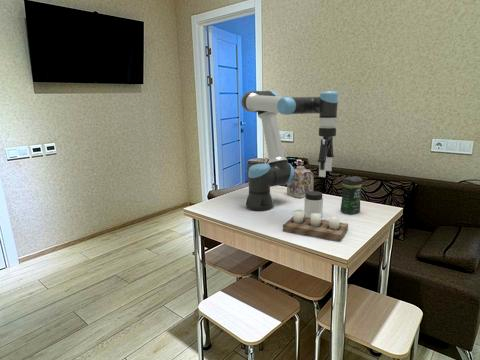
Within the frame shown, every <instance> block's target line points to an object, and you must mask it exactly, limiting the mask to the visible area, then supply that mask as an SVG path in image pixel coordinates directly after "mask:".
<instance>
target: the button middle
mask: <svg viewBox="0 0 480 360" xmlns="http://www.w3.org/2000/svg"><path fill="white" fill-rule="evenodd" d="M321 220H322V217H321V214H320V213H311V221H310V225H311V226H314V227H320V226H321Z"/></svg>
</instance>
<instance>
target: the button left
mask: <svg viewBox="0 0 480 360" xmlns="http://www.w3.org/2000/svg"><path fill="white" fill-rule="evenodd" d="M292 213H293V214H292V215H293V216H292V217H293V223H297V224H302V223H303V217H304V211H303V210H300V209H299V210H298V209H296V210H294V211H293V212H292Z"/></svg>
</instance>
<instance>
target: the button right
mask: <svg viewBox="0 0 480 360" xmlns="http://www.w3.org/2000/svg"><path fill="white" fill-rule="evenodd" d="M340 220H341V217H340V216H338V215H334V214H333V215H329V216H328V221H329V229H332V230H339V223H341V221H340Z"/></svg>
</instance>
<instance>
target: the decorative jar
mask: <svg viewBox="0 0 480 360" xmlns="http://www.w3.org/2000/svg"><path fill="white" fill-rule="evenodd" d="M314 175H315V174H314V173H313V172H312V170H311V169H307V168H305V166H304V165H297V166H296V168H294V177H293V179H292V181H291V182H290V183H288V184H286V195H288V196H291V197H292V198H293V197H294V198H297V199H302V198H304V199H305V197H306V192H309V191H314V177H315V176H314Z"/></svg>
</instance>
